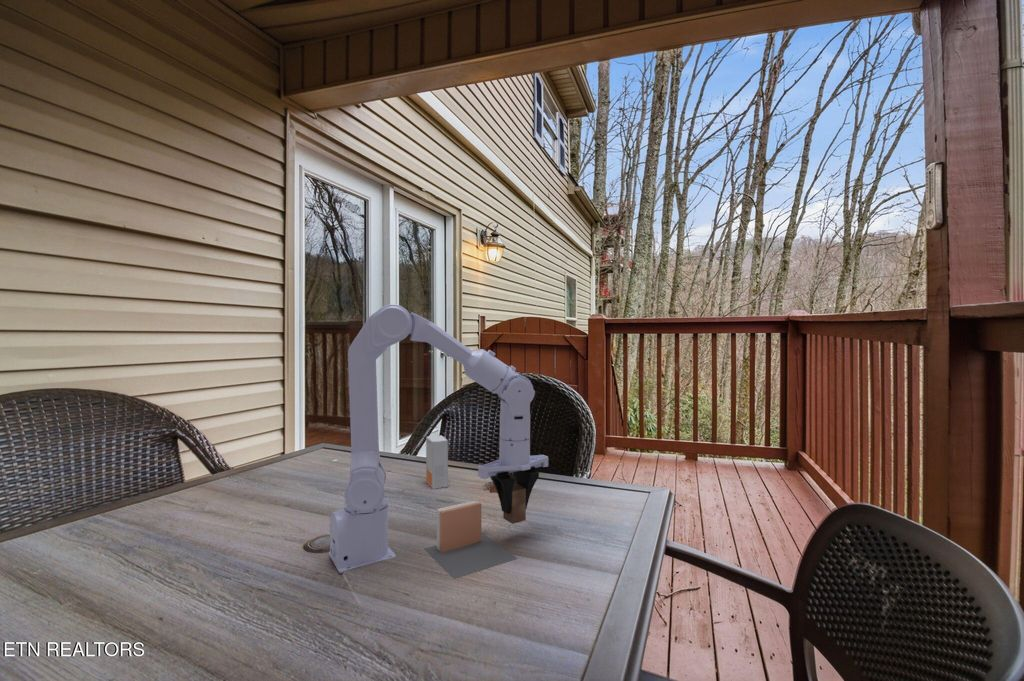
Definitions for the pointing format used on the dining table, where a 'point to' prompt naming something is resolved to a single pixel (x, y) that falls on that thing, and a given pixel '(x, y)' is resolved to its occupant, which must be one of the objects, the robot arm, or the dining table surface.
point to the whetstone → (458, 525)
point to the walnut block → (517, 505)
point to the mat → (471, 557)
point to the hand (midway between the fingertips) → (514, 509)
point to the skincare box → (437, 461)
